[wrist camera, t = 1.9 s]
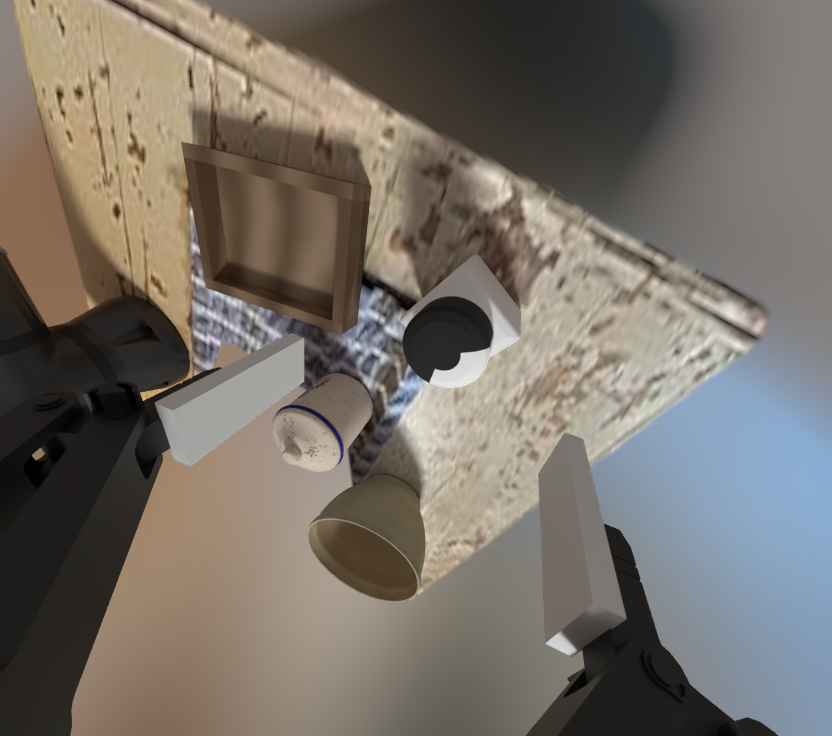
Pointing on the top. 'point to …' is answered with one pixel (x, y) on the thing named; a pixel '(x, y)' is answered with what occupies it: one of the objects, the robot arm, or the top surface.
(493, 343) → the medicine bottle
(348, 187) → the holder tray
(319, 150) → the top surface
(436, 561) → the top surface
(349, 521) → the planter bowl
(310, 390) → the teacup with lid
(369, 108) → the top surface
